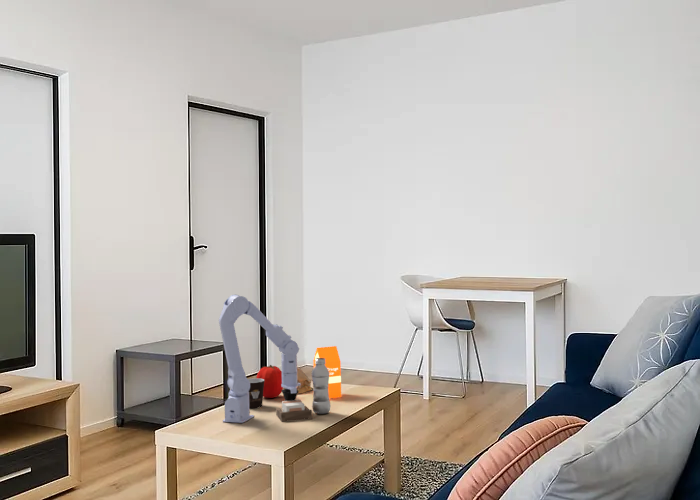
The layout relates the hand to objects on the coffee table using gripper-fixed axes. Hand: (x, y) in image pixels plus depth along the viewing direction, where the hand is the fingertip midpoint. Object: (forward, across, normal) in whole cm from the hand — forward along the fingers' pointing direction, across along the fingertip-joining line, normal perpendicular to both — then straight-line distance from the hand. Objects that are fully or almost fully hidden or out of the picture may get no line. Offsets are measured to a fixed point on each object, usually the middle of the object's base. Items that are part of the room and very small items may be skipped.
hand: (290, 409), depth 264 cm
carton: (+1, -6, 0) cm, 6 cm away
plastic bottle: (+2, -5, -10) cm, 12 cm away
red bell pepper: (+2, +28, +2) cm, 28 cm away
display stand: (+1, -6, 0) cm, 6 cm away
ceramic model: (+2, +37, -11) cm, 38 cm away
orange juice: (+2, +22, -20) cm, 29 cm away
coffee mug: (+2, +16, +12) cm, 20 cm away
